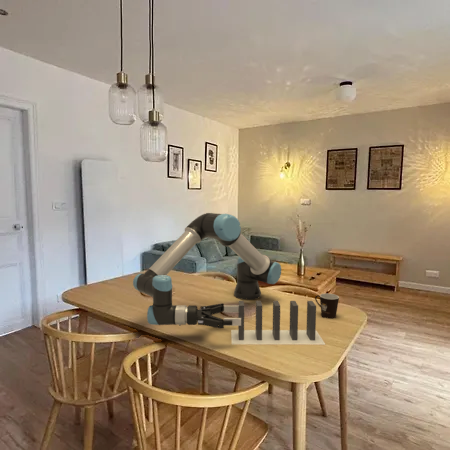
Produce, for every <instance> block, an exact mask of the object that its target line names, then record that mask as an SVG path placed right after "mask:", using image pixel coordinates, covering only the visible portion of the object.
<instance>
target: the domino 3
mask: <svg viewBox="0 0 450 450" xmlns="http://www.w3.org/2000/svg"><path fill="white" fill-rule="evenodd" d="M272 330H273V333H272V334H273V337H274V340H280V330H281V305H280V302H279V300H273V301H272Z"/></svg>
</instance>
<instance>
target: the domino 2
mask: <svg viewBox="0 0 450 450" xmlns="http://www.w3.org/2000/svg"><path fill="white" fill-rule="evenodd" d="M255 330H256V338H257V340H262V330H263V303H262V300H255Z"/></svg>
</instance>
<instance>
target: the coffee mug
mask: <svg viewBox="0 0 450 450" xmlns="http://www.w3.org/2000/svg"><path fill="white" fill-rule="evenodd" d="M317 297H318V298H319V302H318V299H317ZM314 300H315V302H316V304H317V305H318V307H320V313H321V314H320V315H321V318H322V319H330V320H331V319H336V318H337V312H338V306H339V300H340V296H339V295H337V294H334V293H321V294H319V295H316V296H315V299H314ZM319 303H320V304H319Z"/></svg>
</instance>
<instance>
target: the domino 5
mask: <svg viewBox="0 0 450 450" xmlns="http://www.w3.org/2000/svg"><path fill="white" fill-rule="evenodd" d="M306 303H307V304H306V330H307V331H306V334H307V336H308V337H309V339H310V340H315V331H317V330H316V328H317V327H316V326H317V325H316V324H317V305H316V304H315V303H314V300H307V302H306Z"/></svg>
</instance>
